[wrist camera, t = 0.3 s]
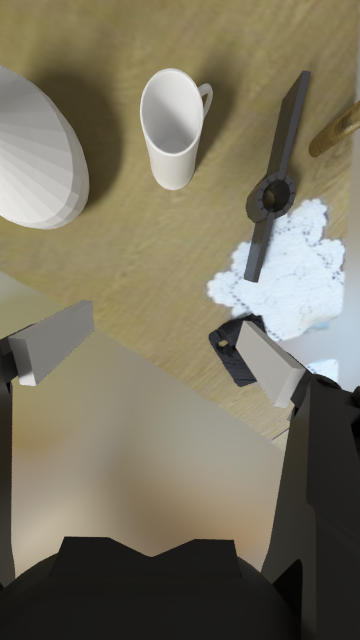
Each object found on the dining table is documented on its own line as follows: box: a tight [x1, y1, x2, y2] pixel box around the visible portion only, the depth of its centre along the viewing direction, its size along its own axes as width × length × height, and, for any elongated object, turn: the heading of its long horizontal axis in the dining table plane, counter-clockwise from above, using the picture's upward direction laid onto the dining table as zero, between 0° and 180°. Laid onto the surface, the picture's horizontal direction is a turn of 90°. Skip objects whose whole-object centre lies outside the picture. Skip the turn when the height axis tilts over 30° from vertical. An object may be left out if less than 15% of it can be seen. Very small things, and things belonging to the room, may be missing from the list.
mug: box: [140, 68, 213, 190], centre depth 26 cm, size 12×8×12 cm
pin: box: [309, 101, 360, 157], centre depth 25 cm, size 3×3×15 cm
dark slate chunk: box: [209, 313, 266, 387], centre depth 46 cm, size 15×22×5 cm
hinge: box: [244, 71, 311, 283], centre depth 33 cm, size 31×7×5 cm, turn 175°
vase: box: [0, 65, 89, 230], centre depth 24 cm, size 18×18×19 cm
